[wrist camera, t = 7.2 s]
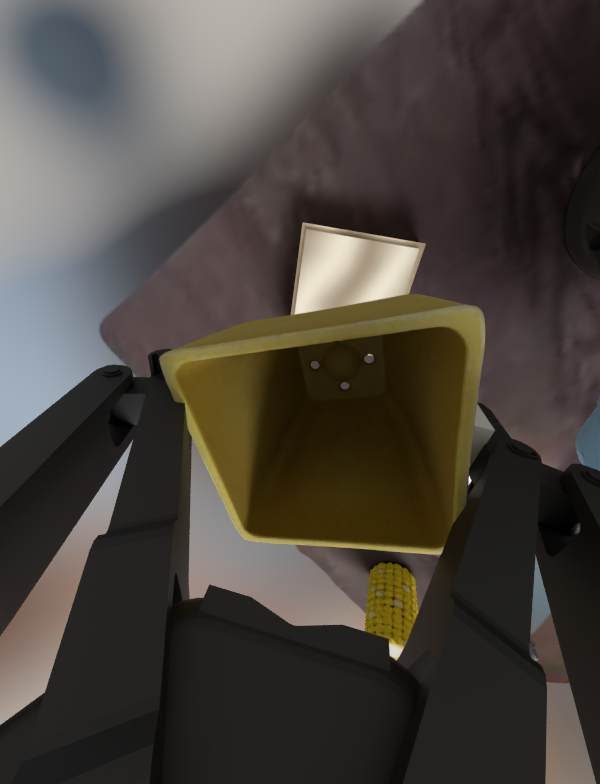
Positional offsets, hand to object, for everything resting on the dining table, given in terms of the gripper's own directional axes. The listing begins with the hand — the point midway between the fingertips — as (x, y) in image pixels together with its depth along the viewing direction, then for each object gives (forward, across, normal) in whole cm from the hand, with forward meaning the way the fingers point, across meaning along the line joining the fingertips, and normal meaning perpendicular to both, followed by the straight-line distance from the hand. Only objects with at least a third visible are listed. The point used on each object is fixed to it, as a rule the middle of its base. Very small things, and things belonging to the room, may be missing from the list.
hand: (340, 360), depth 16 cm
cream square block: (+20, 0, +1) cm, 20 cm away
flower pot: (0, 0, 0) cm, 0 cm away
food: (+20, +20, -55) cm, 62 cm away
